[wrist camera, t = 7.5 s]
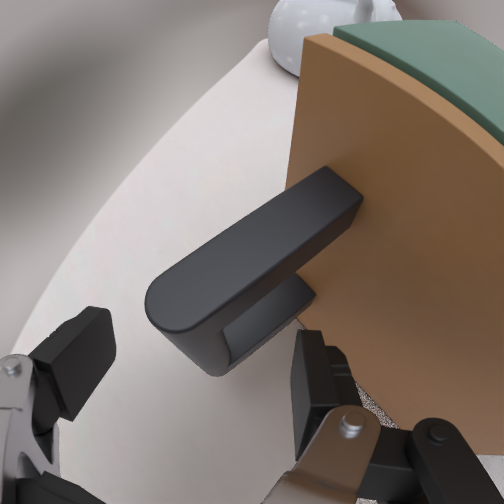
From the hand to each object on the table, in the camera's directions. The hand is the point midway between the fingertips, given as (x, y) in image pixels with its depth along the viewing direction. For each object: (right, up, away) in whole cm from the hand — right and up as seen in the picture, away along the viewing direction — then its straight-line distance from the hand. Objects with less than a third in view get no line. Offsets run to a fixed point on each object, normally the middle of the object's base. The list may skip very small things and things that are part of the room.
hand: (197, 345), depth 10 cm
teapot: (+12, +26, +23) cm, 37 cm away
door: (+5, -5, +5) cm, 9 cm away
